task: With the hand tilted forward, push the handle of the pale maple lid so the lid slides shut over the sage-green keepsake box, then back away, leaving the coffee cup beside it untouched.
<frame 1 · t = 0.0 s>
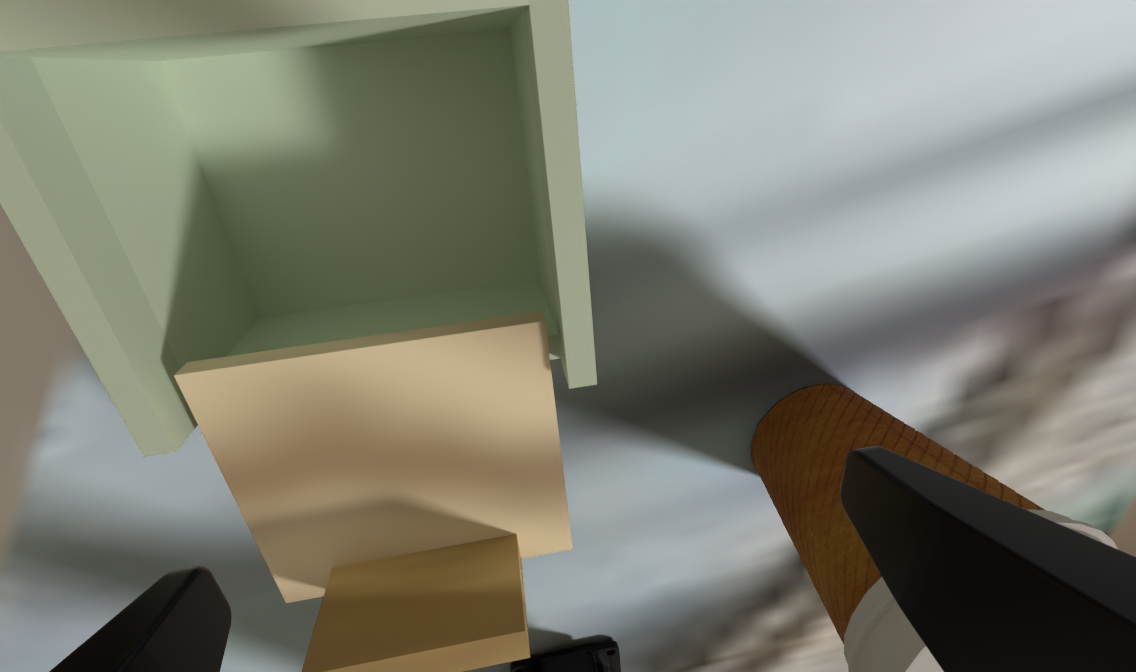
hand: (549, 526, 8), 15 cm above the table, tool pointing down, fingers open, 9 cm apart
keepsake box: (378, 180, 19), on the table
disposable coffee cup: (806, 433, 28), on the table
lid: (397, 509, 15), point 8 cm above the table, slide at 7.0 cm
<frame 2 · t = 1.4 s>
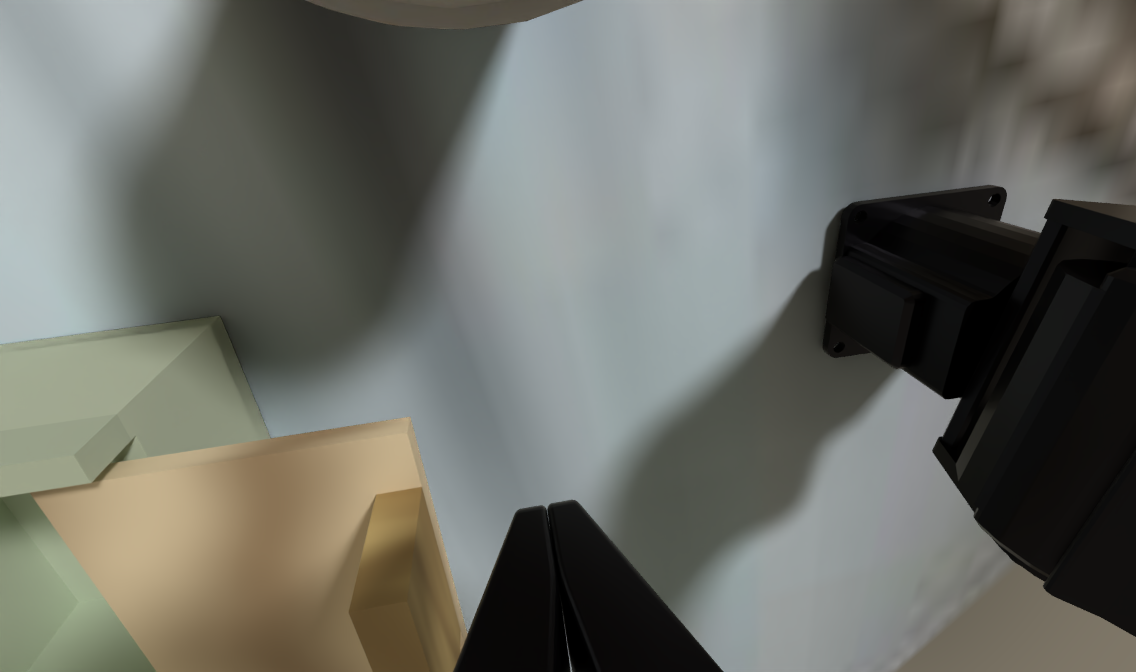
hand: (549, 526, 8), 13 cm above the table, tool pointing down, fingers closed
keepsake box: (142, 474, 21), on the table
lid: (270, 639, 14), point 8 cm above the table, slide at 7.0 cm
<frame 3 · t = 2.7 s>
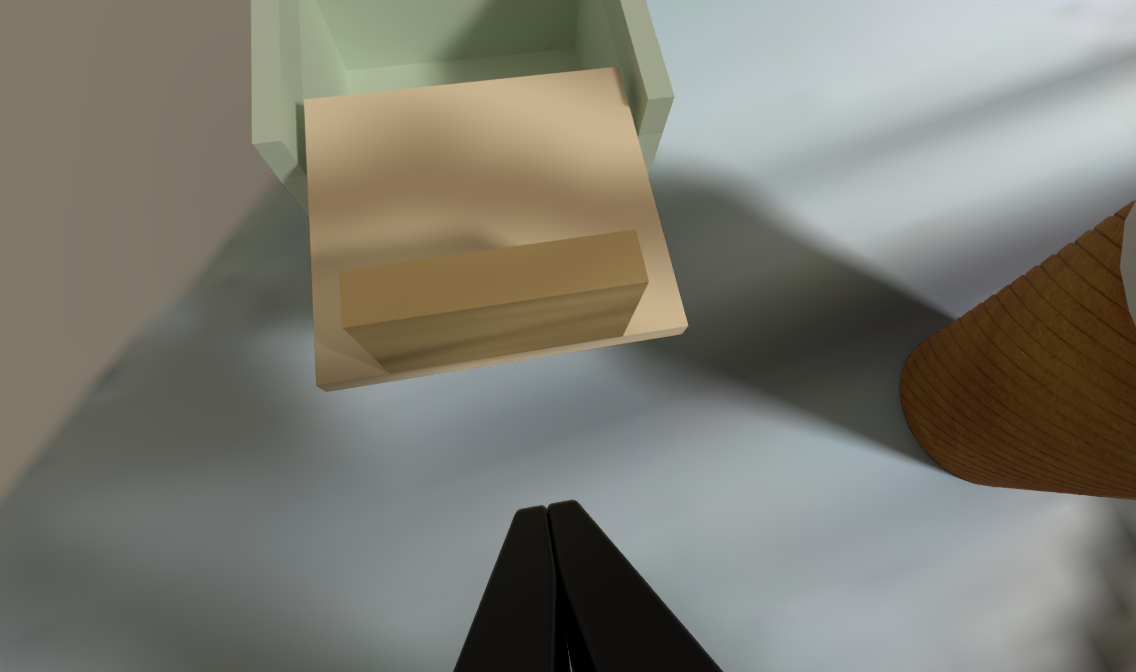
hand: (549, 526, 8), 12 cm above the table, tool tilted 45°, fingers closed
keepsake box: (477, 146, 24), on the table
disposable coffee cup: (972, 406, 22), on the table
lid: (481, 177, 14), point 8 cm above the table, slide at 7.0 cm
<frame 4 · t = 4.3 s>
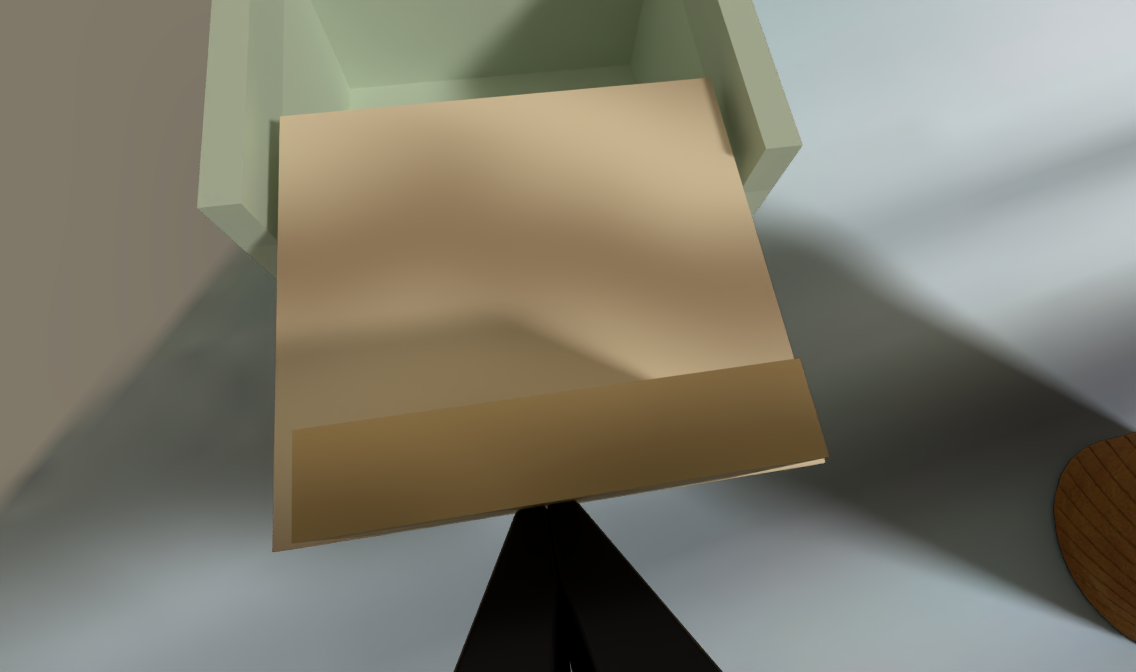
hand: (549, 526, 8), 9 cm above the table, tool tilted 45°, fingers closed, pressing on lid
keepsake box: (508, 185, 19), on the table
lid: (526, 239, 9), point 8 cm above the table, slide at 6.4 cm, touching gripper
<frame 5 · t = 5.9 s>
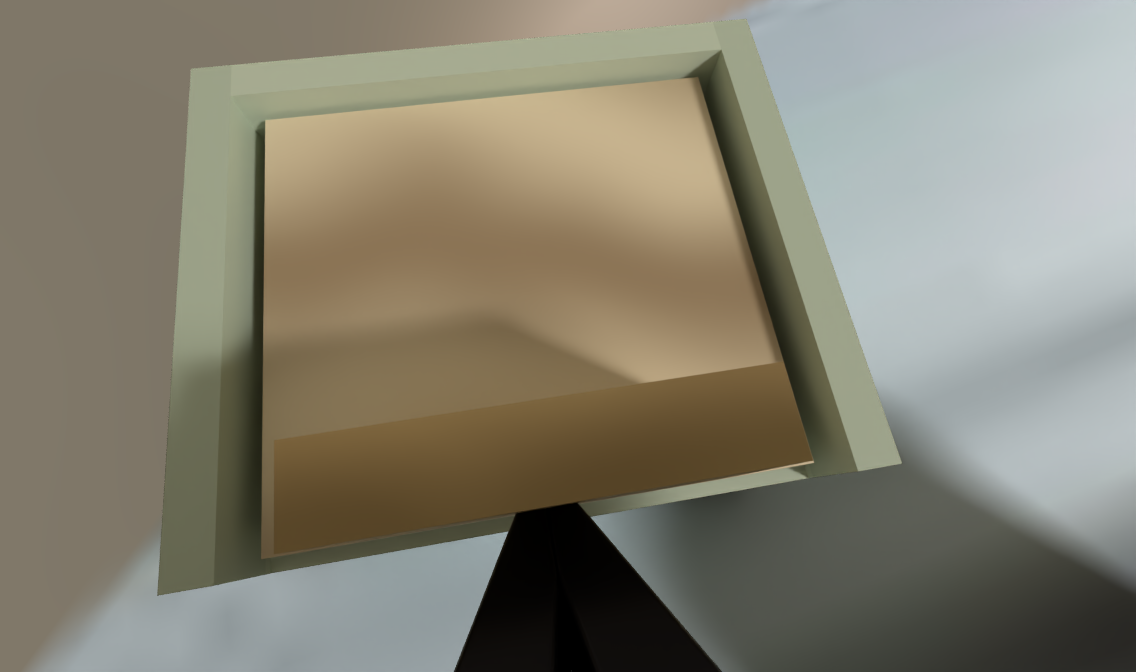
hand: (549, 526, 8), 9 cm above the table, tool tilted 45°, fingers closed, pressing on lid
keepsake box: (525, 358, 17), on the table
lid: (513, 242, 9), point 8 cm above the table, slide at -0.2 cm, touching gripper
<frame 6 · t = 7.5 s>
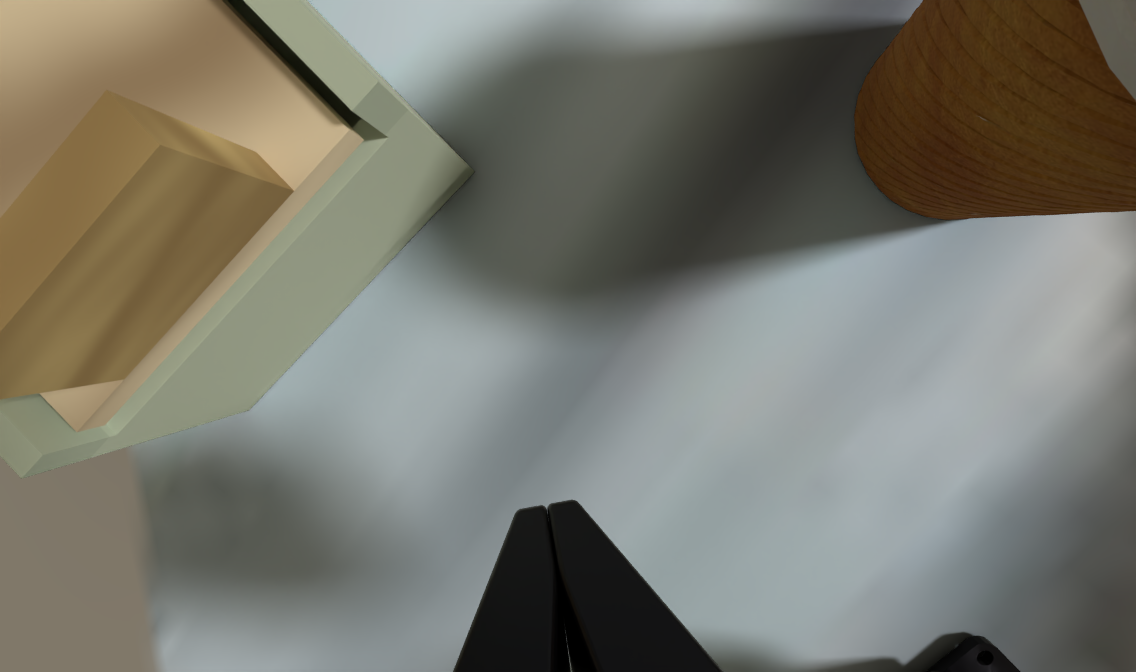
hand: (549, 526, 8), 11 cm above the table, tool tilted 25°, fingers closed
keepsake box: (260, 194, 19), on the table
disposable coffee cup: (951, 121, 17), on the table
lid: (2, 129, 11), point 8 cm above the table, slide at 0.0 cm
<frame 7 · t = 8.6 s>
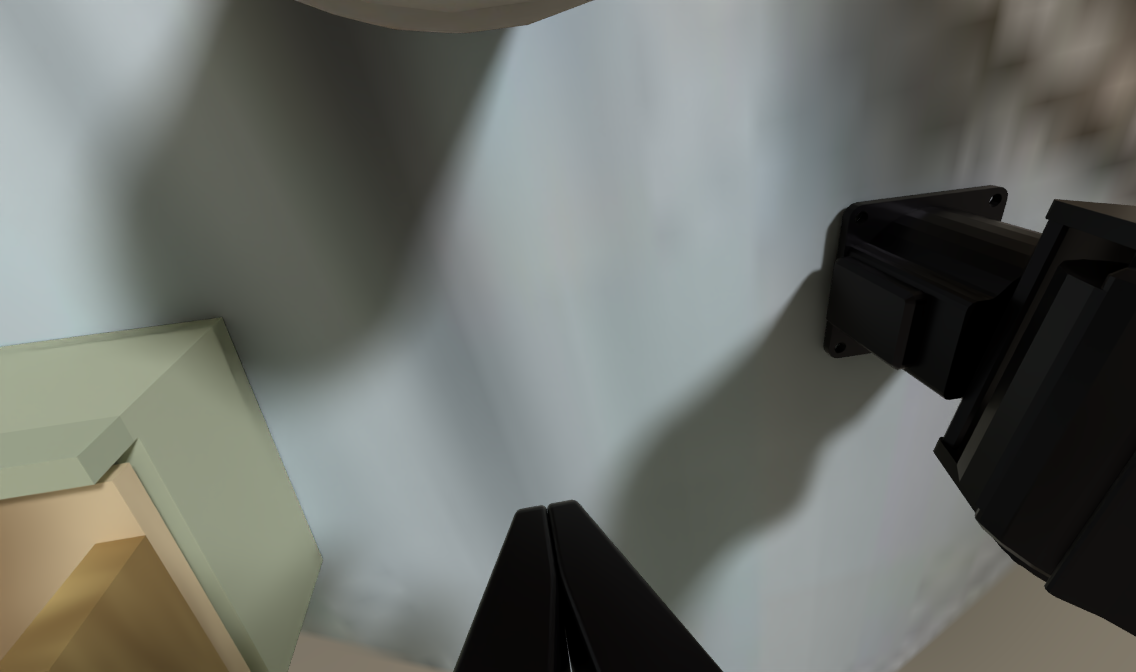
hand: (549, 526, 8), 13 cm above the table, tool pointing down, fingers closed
keepsake box: (144, 475, 21), on the table
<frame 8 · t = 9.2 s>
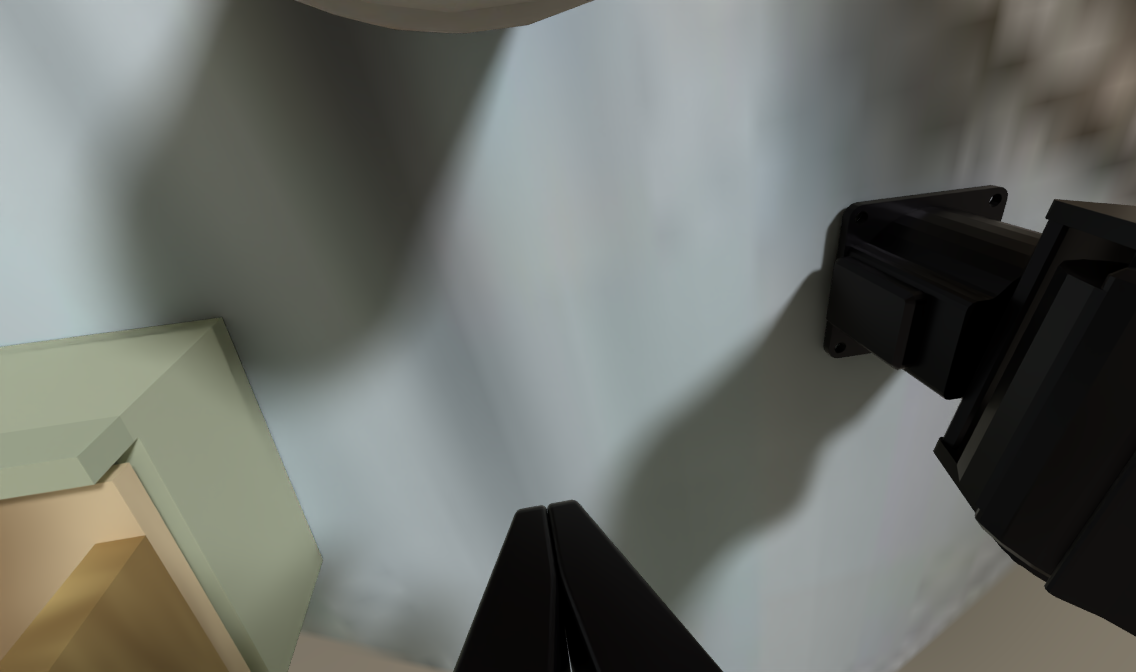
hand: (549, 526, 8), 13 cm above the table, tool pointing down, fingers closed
keepsake box: (144, 475, 21), on the table
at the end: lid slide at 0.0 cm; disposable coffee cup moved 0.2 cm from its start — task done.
